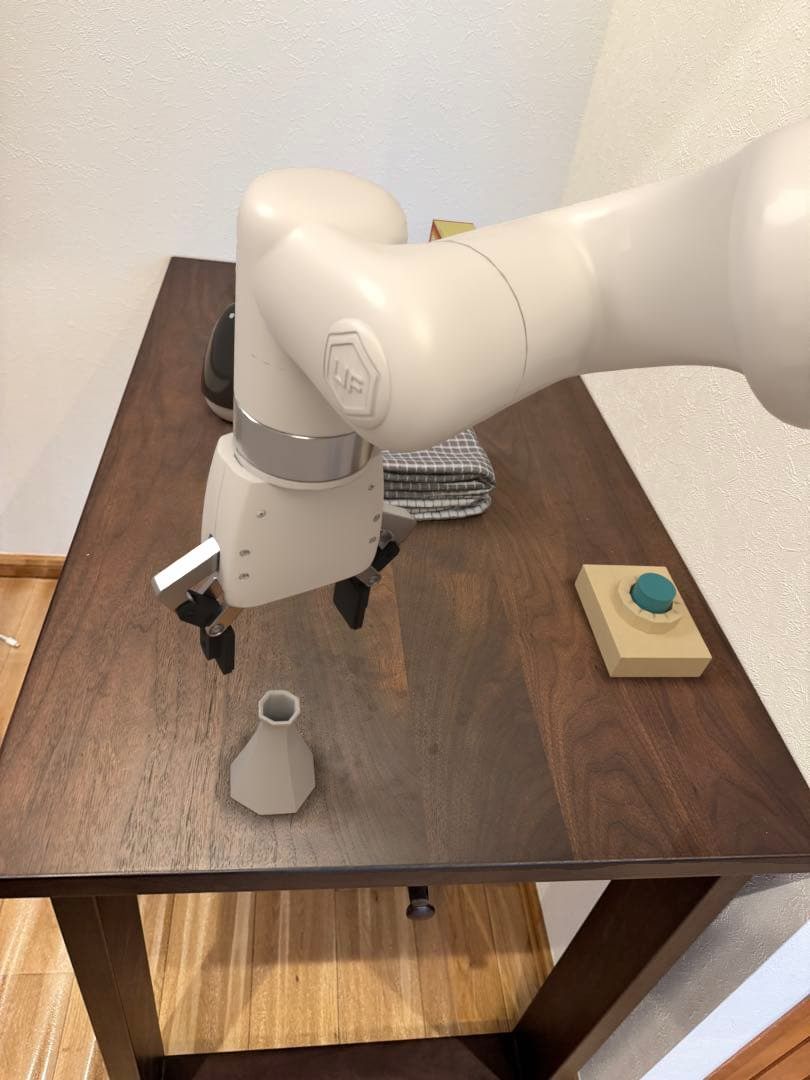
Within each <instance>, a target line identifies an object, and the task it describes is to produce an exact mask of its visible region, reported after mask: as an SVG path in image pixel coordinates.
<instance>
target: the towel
mask: <svg viewBox="0 0 810 1080" xmlns="http://www.w3.org/2000/svg"><path fill="white" fill-rule="evenodd" d="M381 453H382V462H383V476H384V499H383V503H386V504H390V505H394V506H398V507H401V508H405V509H407V510H408V512H409V513H410V514H411V515H412V516H413V518H414V519H415V520H416V521H417V522H420V521H421V522H422V521H433V520H435V521H440V520H450V519H451V520H454V519H465V518H467V517H474V516H478V515H481V514H483V513H484V512H485V511H486V510H489V508H490V507H491V505H492V498H491V496H490V493H491V492H494V490H495V489H497V488H496V487H497V485H498V481H497V477H496V473H495V471H494V468H493V465H492V462H491V460H490V458H489V457H488V454H487V453H486V452H485V449H484V448H483V446H482V445H481V443H480V442H479V438H478V436H477V433H476V431H475V430H474V426H473V427H471V428H469V429H467V430H465V431H463V432H461V433H459V434H458V435H456V436H454V437H452V438H450V439H448V440H447V441H445V442H443V443H441V444H439V445H436V446H434V447H431V448H429V449H426V450H421V451H417V452H412V453H396V452H391V451H387V450H384V449H381Z"/></svg>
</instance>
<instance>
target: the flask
mask: <svg viewBox="0 0 810 1080" xmlns="http://www.w3.org/2000/svg"><path fill="white" fill-rule="evenodd" d="M257 707H258V708H257V709H258V720H259V723H258V725H257V728H256V730H255V732H254V733H253V735H252V736H251V738H250V739H249V741H248V742H247V744H246V745H245V746H244V747H243V748H242V750H241V751H240V752H239V753H238V755H237V756H236V757H235V759H234V760H233V761H232V762H231V764H230V781H229V782H230V785H229V788H230V789H229V790H230V791H229V793H230V795H229V796H230V798H231V799H232V800H234V801H236V802H238V803H240V805H243V806H244V807H246V808H248V809H249V810H250V811H252V812H254V813H256V815H259V816H266V815H267V816H268V815H269V816H270V815H284V814H285V815H287V814H297V812H298V811H299V809H300V808H301V807H302V805H303V804H304V803H305V801H306V800H307V798H308V797H309V795H310V794H311V792H312V791H313V790H314V789H315V787H316V776H315V764H314V755H313V753H312V751H311V749H310V748H309V746H308V745H307V743H306V742H305V740H304V738H303V737H302V734H301V733H300V731H299V729H298V727H297V724H296V720H297V719H298V717H299V716H300V715H301V705H300V697H299V696H297V695H295V694H293V693H291V692H290V691H288V690H286V689H279V690H278V689H277V690H276V689H275V690H267V692H266V693H265V694H264V695H263V696H262V697H261V699H259V701H258V706H257Z"/></svg>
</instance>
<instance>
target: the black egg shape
mask: <svg viewBox="0 0 810 1080" xmlns="http://www.w3.org/2000/svg"><path fill="white" fill-rule="evenodd" d="M234 346H235V302H232V303H230V304H229V305H227V306H226V307H225V308H224V309H223V310H222V312H221V313H220V314H219V316H218V318H217V319H216V321H215V323H214V325H213V328H212V330H211V333H210V335H209V339H208V342H207V344H206V348H205V351H204V356H203V361H202V366H201V373H200V374H201V375H200V390H201V393H202V394H203V396H204V398H205V401H206V403H207V405H208V406H209V408H210V409H211V411H212V412H214V413H215V415H217V416H218V417H219V418H221V419H223V420H225V421H228V422H229V423H230V422H231V423H233V400H234Z"/></svg>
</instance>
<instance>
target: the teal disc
mask: <svg viewBox="0 0 810 1080" xmlns="http://www.w3.org/2000/svg"><path fill="white" fill-rule="evenodd" d="M675 586H676V585H675ZM675 586H674V585H673V584H672V582H671V581H670V580H668V579H667V578H665V577H664V576H662V575H659V574H656V573H645V574H642V575H641V576H640V577H639V579H638V580H637V582H636V584H635V586H634V588H633V590H632V593H631V595H632V599H633V601H634V603H635V604H637V605H638V606H639V607H640V608H641V609H643V610H645V611H648V612H650V613H653V614H661V613H664V612H666V611H667V610H668V608H669V606H670V605H671V603H672V601H673V599H674V598H675V596H676V589H675Z"/></svg>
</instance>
